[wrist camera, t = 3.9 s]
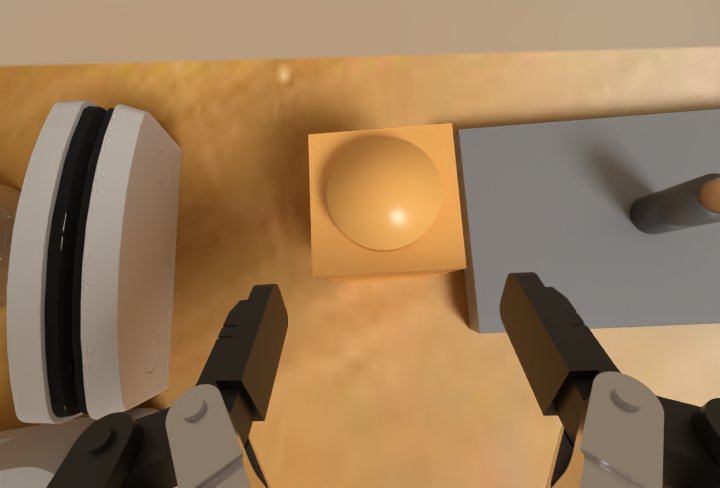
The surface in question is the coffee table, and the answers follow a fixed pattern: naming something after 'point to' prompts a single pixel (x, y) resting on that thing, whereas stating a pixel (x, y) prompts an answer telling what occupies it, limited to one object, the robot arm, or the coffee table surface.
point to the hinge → (93, 265)
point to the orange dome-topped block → (385, 204)
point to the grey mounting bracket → (42, 450)
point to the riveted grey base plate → (596, 216)
